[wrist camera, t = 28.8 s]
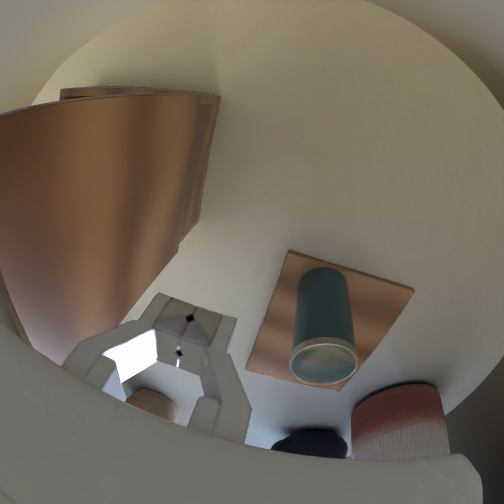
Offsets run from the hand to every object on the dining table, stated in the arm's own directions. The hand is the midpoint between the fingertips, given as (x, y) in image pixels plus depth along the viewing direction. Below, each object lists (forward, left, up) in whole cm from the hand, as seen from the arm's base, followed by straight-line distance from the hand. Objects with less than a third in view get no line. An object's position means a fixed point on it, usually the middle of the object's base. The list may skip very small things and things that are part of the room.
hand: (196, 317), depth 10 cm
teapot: (+51, +24, -19) cm, 60 cm away
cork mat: (+18, +12, -19) cm, 29 cm away
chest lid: (0, -7, -5) cm, 8 cm away
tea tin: (+10, +9, -19) cm, 23 cm away
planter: (+32, +34, -19) cm, 51 cm away
